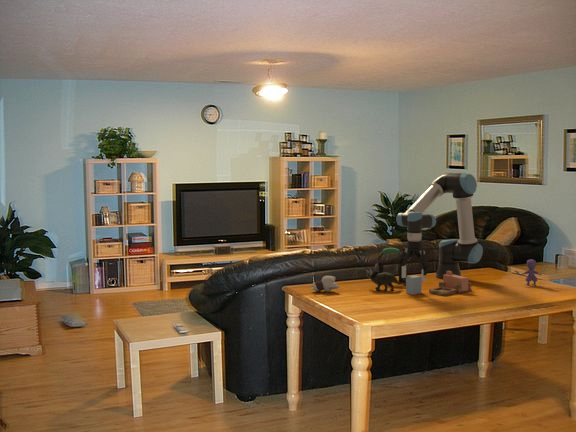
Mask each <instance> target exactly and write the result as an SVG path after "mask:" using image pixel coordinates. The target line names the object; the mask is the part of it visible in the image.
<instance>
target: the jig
mask: <svg viewBox="0 0 576 432" xmlns="http://www.w3.org/2000/svg"><path fill="white" fill-rule="evenodd" d="M472 291H473V290H472V282H469V281H468V290H467V291H461V285H458V284H455V289H451V288H445V282H443V281H439V282H438V287H434V288H430V289H429V290H428V294H432V295H436V296H442V297H445V296H447V297H448V296H450V295H451V296H452V295H456V294H458V295H459V294H465V293H468V292H472Z"/></svg>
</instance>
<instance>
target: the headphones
mask: <svg viewBox="0 0 576 432" xmlns="http://www.w3.org/2000/svg"><path fill="white" fill-rule="evenodd" d="M386 254H396V255H398V256H399V257H401V255H402V252H401V251H400V249H399V248H396V247H385V248H383V249H382V251H381V252H380V253H379V256H378V259H377V263H375V264H374V271H378V273H383V272H384V263H383V262H380V261H381V258H382V256H383V255H386ZM404 266H406V277H408V265H407V263H406V264H405V265H404ZM398 281H399V282H400V283H404V282H406V278H402V271H401V265H400V264H398Z"/></svg>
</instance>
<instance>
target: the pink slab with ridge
mask: <svg viewBox="0 0 576 432" xmlns="http://www.w3.org/2000/svg"><path fill="white" fill-rule="evenodd" d="M442 282H445V288H451V289H455V284H458V285H461V291H467V290H468V282H469V277H466V276H462V275H461V276H458V275H453V274H452V271H446V274H445V275H443V279H442Z"/></svg>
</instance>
